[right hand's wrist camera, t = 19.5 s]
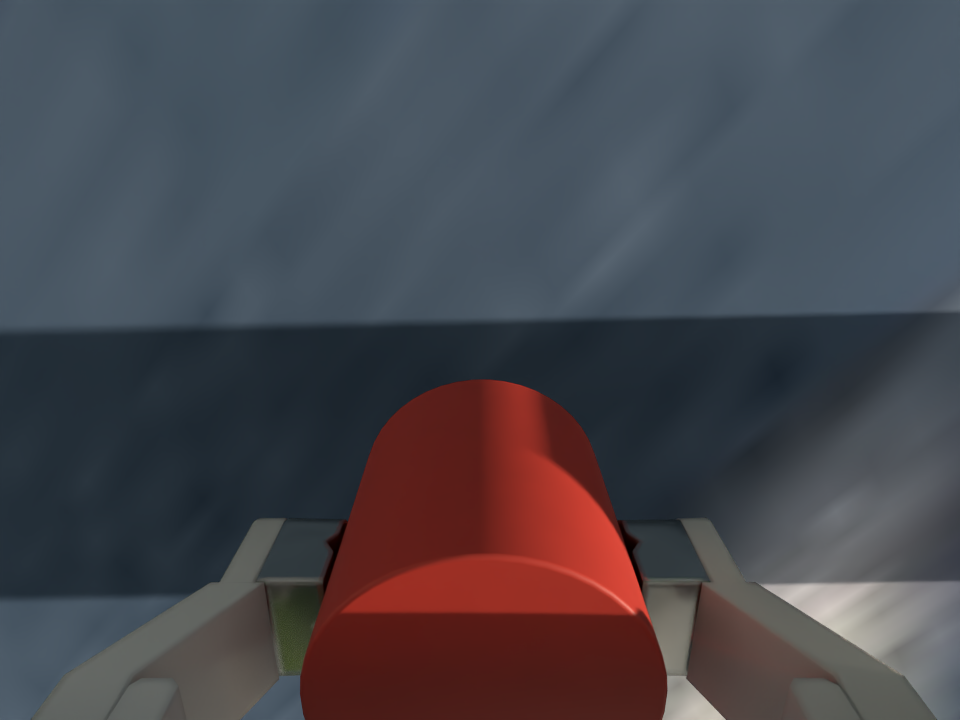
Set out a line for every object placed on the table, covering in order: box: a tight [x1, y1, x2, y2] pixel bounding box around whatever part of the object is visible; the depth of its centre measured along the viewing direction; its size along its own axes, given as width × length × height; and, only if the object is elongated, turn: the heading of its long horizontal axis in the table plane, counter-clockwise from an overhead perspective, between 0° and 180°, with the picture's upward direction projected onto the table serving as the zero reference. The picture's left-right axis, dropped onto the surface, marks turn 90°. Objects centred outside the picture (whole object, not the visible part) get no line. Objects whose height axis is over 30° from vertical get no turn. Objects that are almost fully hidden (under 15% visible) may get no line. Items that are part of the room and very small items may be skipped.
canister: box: [300, 380, 667, 720], centre depth 10 cm, size 5×5×5 cm
